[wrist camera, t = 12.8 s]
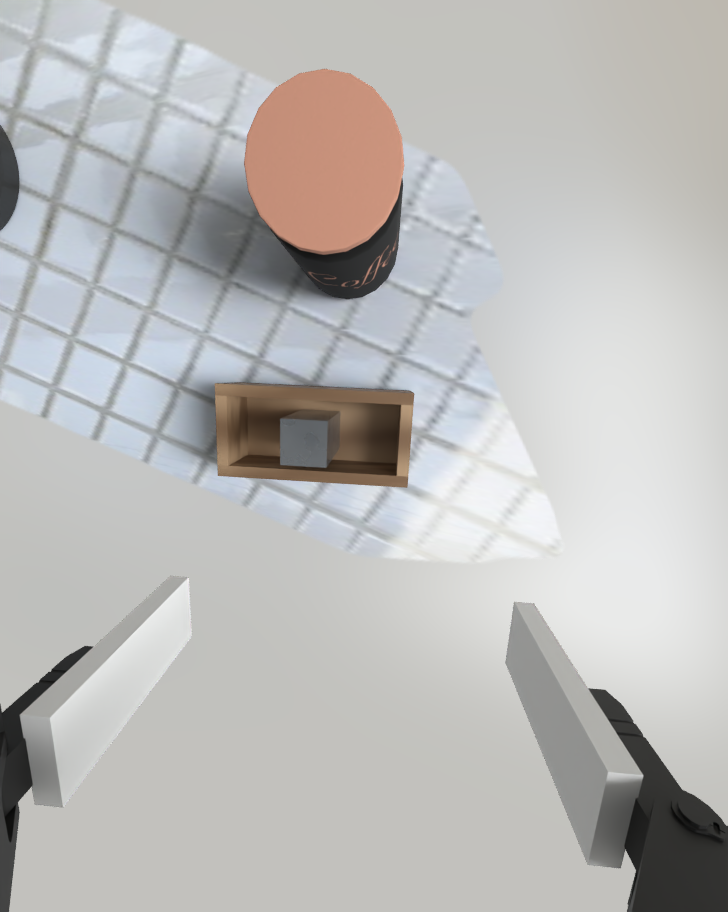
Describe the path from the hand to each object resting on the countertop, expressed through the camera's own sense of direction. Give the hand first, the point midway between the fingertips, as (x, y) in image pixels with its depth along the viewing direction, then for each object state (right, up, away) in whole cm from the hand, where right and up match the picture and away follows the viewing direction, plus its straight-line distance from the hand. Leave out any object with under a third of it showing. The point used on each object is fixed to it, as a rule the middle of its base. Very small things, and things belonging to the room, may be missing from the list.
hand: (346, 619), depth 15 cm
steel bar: (-4, +10, +31) cm, 33 cm away
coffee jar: (-1, +29, +28) cm, 40 cm away
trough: (-4, +10, +32) cm, 33 cm away
